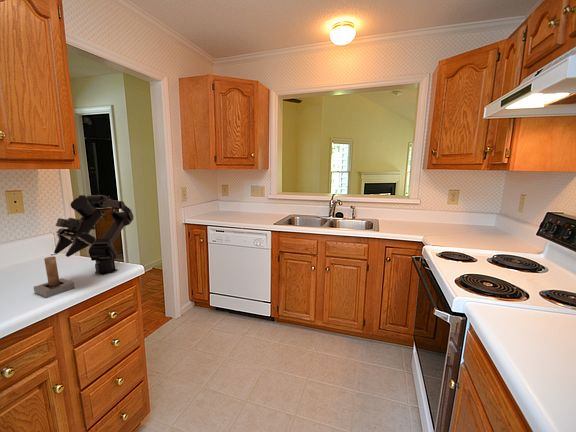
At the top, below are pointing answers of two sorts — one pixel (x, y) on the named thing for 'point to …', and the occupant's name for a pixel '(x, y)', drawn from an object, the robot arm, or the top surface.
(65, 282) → the square hole frame
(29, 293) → the top surface
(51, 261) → the walnut pin
